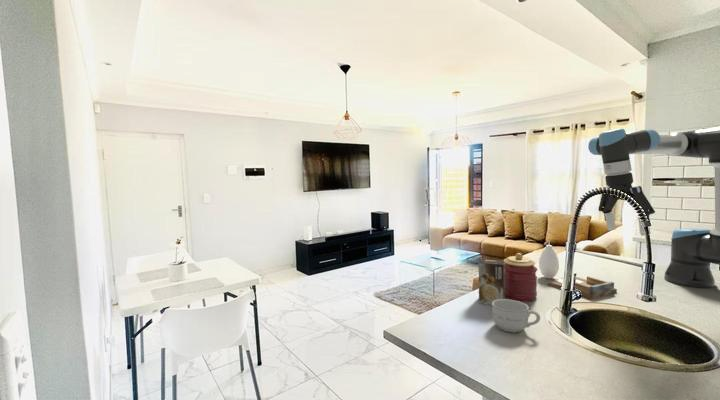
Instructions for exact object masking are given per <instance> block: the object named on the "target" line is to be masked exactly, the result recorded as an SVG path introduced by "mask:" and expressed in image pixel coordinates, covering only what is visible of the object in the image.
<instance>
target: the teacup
mask: <svg viewBox="0 0 720 400" xmlns="http://www.w3.org/2000/svg"><path fill="white" fill-rule="evenodd" d="M491 306H492V320H493V322H494V323H495V325H496V326H498V328H499V329H500V330H502V331H504V332H505V331H506V332H509V333H519V332H522V331H523V330H525V329H526V328H530V327H531V326H534V325H537V324H539V322H540V321H541V315H540V313H539V312H538V311H537V310H534V309H530V310H529V308H530V307H529V305H528V304H526V303H524V302H522V301H515V300H511V299H508V298H504V299H499V300H495V301H493V302H492V305H491ZM531 314H532V315H535V317H536V319H535V320H533V321H529V317H530V315H531Z"/></svg>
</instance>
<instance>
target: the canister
mask: <svg viewBox="0 0 720 400" xmlns="http://www.w3.org/2000/svg"><path fill="white" fill-rule="evenodd" d="M503 263H504V298H505V299H508V300H515V301H519V302H522V303H524V302H532V301H535V300H536V299H537V296H538V294H537V293H538V291H537V287H538V286H537V284H538V283H537V280H538V276H537V271H538V268H537V267H536V266H535V265H536V262H535V261H533V260H532V259H531V258H529V257H525V256H523V254H522V253H520V252H517V253H516V254H515V255H512V256H508V257H506V258H504V259H503Z"/></svg>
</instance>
